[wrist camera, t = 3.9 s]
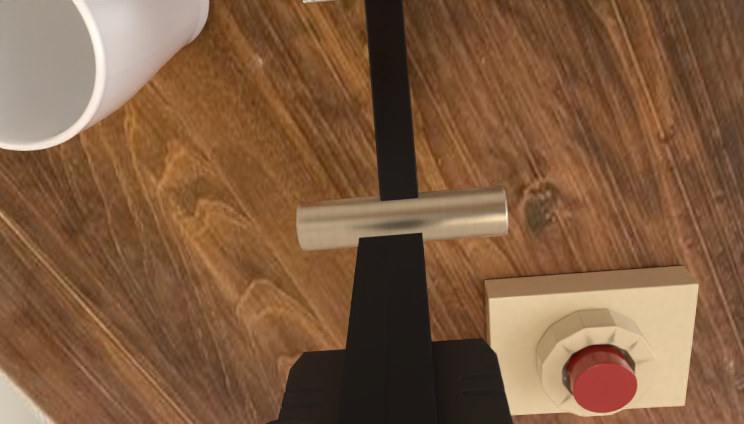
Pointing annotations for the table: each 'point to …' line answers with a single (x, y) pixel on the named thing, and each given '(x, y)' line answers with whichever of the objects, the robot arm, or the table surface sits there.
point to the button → (601, 379)
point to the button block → (592, 333)
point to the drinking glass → (82, 61)
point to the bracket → (314, 1)
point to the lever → (398, 165)
